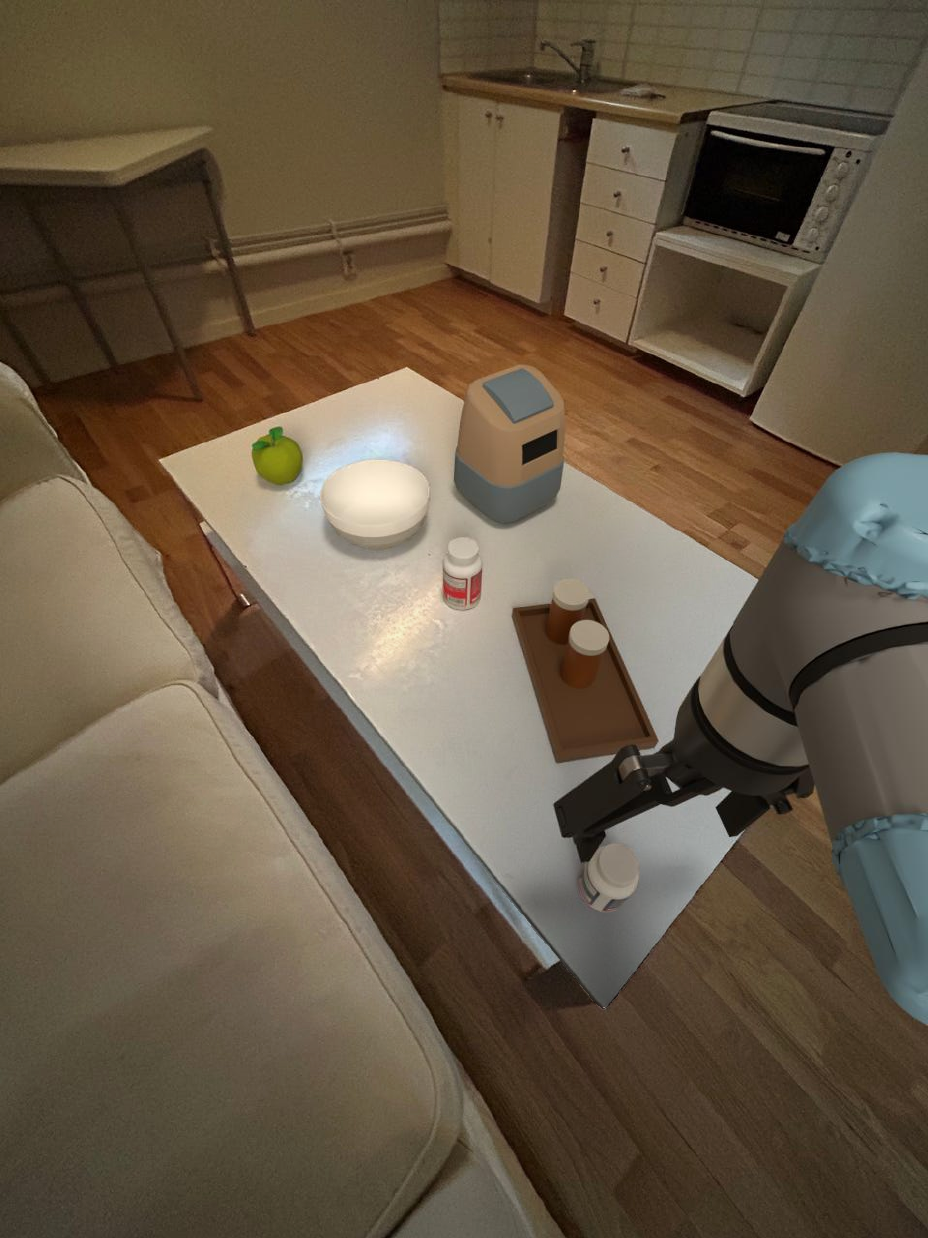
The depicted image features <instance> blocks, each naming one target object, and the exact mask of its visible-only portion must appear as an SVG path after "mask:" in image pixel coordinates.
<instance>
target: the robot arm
mask: <svg viewBox="0 0 928 1238" xmlns="http://www.w3.org/2000/svg"><path fill="white" fill-rule="evenodd" d="M668 780H669V781H670V782H671V783H672V784H674V785H675V786H676V787H677V788H678V789H676V790H674V791H672V788H671V786H670V783H669V781H668ZM722 789H725V790H728V791H730V792H729V793H728V794H727V795H726V796H725V797H724V798H723V799H722V800H721V801H720V802H719V803H718V804H717V805H716V806H715V807H714V808H715V810H716V812H717V814H718V816H719V819H720V821H721V823H722V825H723V827H724V829H725V832H726V833H727V835H728V837H729V838H734V837H738V836H739V835H740V834H742V833H743V832H744V831H746V830H747V829H748V828H749V827H750V826H752V825H753V824H754V823H755V822H757V820H759V819H760V818H761V817H762V816H764V815H765V814H766V813H767V812H768V811H770V810H771V809H772V808H771V806H772V807H773V809H774V810H775V813H776V814H777V815H779V816H780V815H785V814H788V813H790V812H792V811H794V808H793V806H792V804H791V803H790V802H791V801H790V800H789V799H788V797H787V796H789V795H793V794H794V795H795V797H796V798H797V799H808V798H810V797H811V795H813V794H814V790H815V791H816V795H817V797H818V802H819V805H820V808H821V811H822V815H823V818H824V822H825V826H826V828H827V832H828V835H829V839H830V843H831V846H832V850H831V851H830V853H831V859H832V863H833V864H832V865H833V866H834V868H835V871H836V875H837V876H838V877H839V879H840V881H841V882H840V883H841V884H842V885H843V887H844V888H845V890H846V892H847V895H848V897H849V900H850V902H851V905H852V908H853V910H854V913H855V916H856V918H857V921H858V924H859V927H860V930H861V932H862V935H863V938H864V940H865V943H866V946H867V948H868V950H869V954H870V957H871V959H872V962H873V965H874V968H875V971H876V973H877V975H878V978H879V981H880V982H881V984H882V986H883V988H884V989H885V990H886V992H887V994H888V995H889V997H890V998H891V999H892V1000H893V1002H895V1003H896V1004H897V1005H898V1006H899V1007H900V1009H902V1010H904V1011H905V1012H906V1013H907V1014H908V1015H909V1016H911V1017H912V1018H913V1019H915V1020H917V1021H919V1022H920V1023H922V1024H924V1025H925V1026H927V1027H928V454H918V453H917V454H915V453H908V452H907V453H906V452H898V451H893V452H880V453H879V452H878V453H872V454H868V455H864V456H860V457H858V458H855V459H853V460H850V461H848V462H846V463H845V464H843V465H842V466H840V467H839V468H837V469H836V470H834V471H833V472H832V473H831V474H830V475H829V476H828V478H826V480H825V481H824V482H823V484H822V486H821V487H820V488H819V490H818V491H817V493H815V496H814V497H813V498H812V500H811V501H810V503H809V504H808V505H807V507H806V508H805V509H804V511H803V513H802V514H801V516H800V517H799V518H798V519H797V521H795V522H794V523H793V522H792V524H790V525H789V526H787V528H786V530H785V532H784V533H783V539H782V540H781V542H780V544H779V545H778V547H777V548H776V551H775V552H774V554H773V555H772V556H771V558H770V560H769V562H768V564H767V565H766V567H765V569H764V570H763V572H762V574H761V575H760V577H759V579H758V580H757V582H756V584H755V585H754V587H753V588H752V590H751V592H750V593H749V595H748V597H747V598H746V600H745V602H744V603H743V605H742V607H741V609H740V610H739V611H738V614H737V615H736V617H735V619H734V620H733V622H732V625H731V627H730V629H729V630H728V631H727V633H726V635H725V636H724V638H723V640H722V641H721V643H720V644H719V646H718V647H717V649H716V650H715V652H714V653H713V656H712V657H711V658H710V660H709V661H708V663H707V665H706V666H705V668H704V669H703V671H702V673H700V675H699V676H698V677H697V678H696V680H695V682H694V683H693V684H692V686H691V688H690V690H689V691H688V693H687V694H686V696H685V697H684V699H683V701H682V702H681V704H680V706H679V707H678V710H677V713H676V718H675V726H674V734H673V738H672V740H670V741H669V742H666V744H664V745H662V747H660V749H659V750H658V751H656V752H655V753H652V754H643V755H642V754H641V752H640V750H639V749H638V747H637V745H633V744H632V745H627V746H625V747H623V748H621V749H620V750H619V752H618V753H617V754H615V755H614V757H613V758H612V760H611V761H610V762H608V763H607V764H606V765H604V766H603V767H601V768H600V769H598V771H596V772H594V773H593V774H592V775H591V776H589V777H588V778H586V779H585V780H583V781H582V782H580V783H579V784H578V785H577V786H575V787H574V788H572V789H571V790H570V791H569V792H567V793H566V794H564V795H563V796H562V797H560V798H558V799H557V800H556V801H555V802H554V803H553V804H552V806H553V810H554V813H555V818H556V820H557V824H558V828H559V832H560V835H561V838H564V839H571V838H572V841H573V844H574V845H575V847H576V850H577V854H578V857H579V861H580V863H581V864H583V863H587V862H589V861H590V860H591V858H592V857H593V855H594V854H595V852H596V851H597V849H598V848H600V847H601V845H602V844H603V842H604V840H605V839H606V837H607V833H606V830H609V829H610V828H613V827H615V826H617V825H619V824H621V823H624V822H626V821H628V820H630V819H633V818H634V817H637V816H639V815H641V814H643V813H645V812H648V811H650V810H651V809H654V808H656V807H659V806H660V805H662V806H667V807H669V808H673V807H676V806H678V805H680V804H683V803H685V802H687V801H689V800H692V799H694V798H696V797H699V796H706V797H707V796H711V795H712V794H715V793H717V792H720V791H721V790H722Z"/></svg>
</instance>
